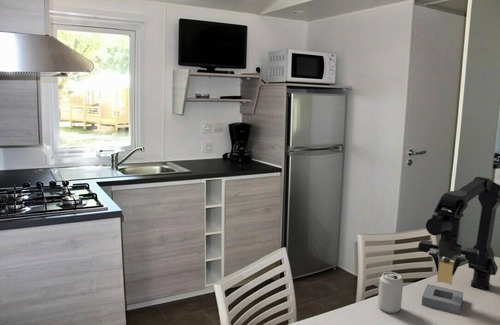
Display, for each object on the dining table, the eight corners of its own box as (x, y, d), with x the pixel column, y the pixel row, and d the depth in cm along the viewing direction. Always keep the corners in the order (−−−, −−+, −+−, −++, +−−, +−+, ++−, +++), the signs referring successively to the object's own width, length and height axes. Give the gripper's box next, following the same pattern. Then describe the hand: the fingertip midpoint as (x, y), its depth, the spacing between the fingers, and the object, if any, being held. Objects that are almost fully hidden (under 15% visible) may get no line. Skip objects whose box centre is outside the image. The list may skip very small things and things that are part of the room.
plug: (438, 276, 157) (441, 255, 155) (452, 279, 154) (454, 257, 153) (437, 281, 153) (439, 259, 151) (451, 284, 151) (453, 262, 149)
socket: (426, 291, 163) (427, 283, 162) (462, 299, 157) (463, 292, 157) (421, 304, 153) (422, 296, 152) (459, 314, 147) (460, 305, 146)
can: (402, 315, 145) (405, 281, 143) (378, 312, 146) (381, 278, 144) (399, 304, 152) (402, 271, 150) (376, 302, 154) (379, 269, 152)
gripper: (417, 231, 148) (413, 275, 151) (479, 242, 139) (474, 289, 142) (422, 223, 158) (418, 264, 160) (481, 232, 149) (476, 276, 151)
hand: (445, 273), depth 153 cm, fingers closed on plug, 4 cm apart
